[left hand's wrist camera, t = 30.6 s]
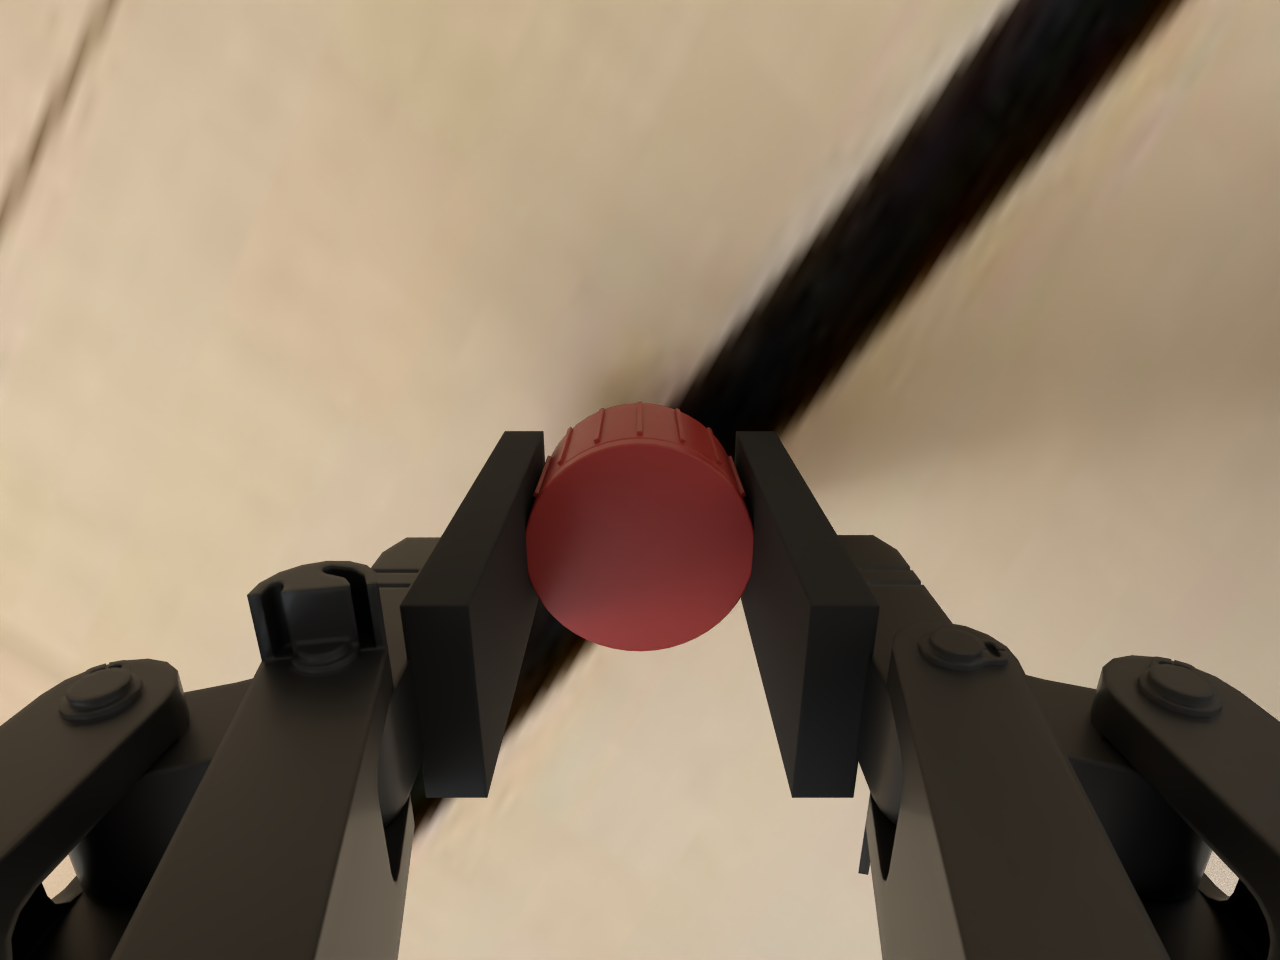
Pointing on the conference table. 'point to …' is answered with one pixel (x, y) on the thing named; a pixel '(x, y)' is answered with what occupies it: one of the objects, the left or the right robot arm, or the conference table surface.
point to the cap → (639, 529)
